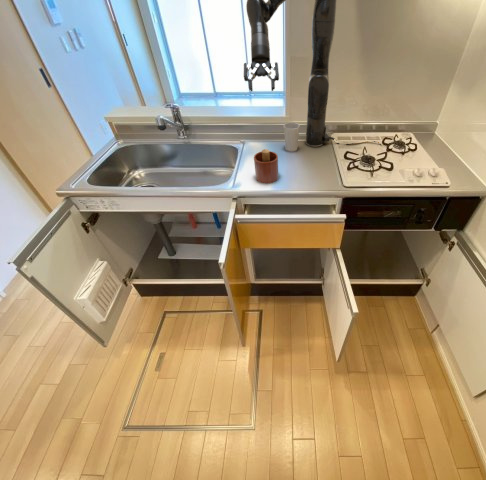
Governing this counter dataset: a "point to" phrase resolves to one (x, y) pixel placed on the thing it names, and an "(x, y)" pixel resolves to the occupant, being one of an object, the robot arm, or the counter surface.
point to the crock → (266, 168)
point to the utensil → (265, 155)
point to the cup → (291, 136)
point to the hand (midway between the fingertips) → (262, 90)
